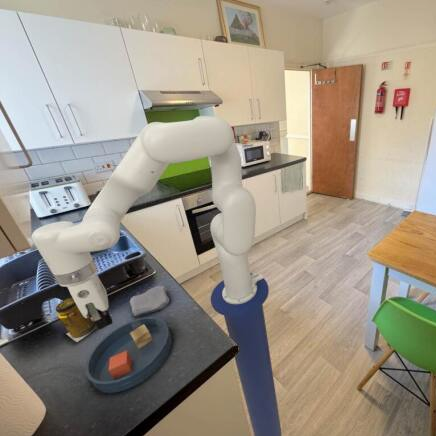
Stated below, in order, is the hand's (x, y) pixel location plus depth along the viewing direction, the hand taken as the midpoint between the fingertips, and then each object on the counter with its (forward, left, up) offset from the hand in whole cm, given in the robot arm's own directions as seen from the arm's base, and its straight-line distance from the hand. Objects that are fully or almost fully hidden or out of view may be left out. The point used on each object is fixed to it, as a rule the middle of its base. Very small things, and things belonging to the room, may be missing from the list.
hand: (105, 324), depth 65 cm
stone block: (-11, -14, -12) cm, 22 cm away
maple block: (-6, +1, -11) cm, 13 cm away
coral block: (0, +7, -11) cm, 13 cm away
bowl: (-3, +4, -12) cm, 13 cm away
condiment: (+8, -18, -12) cm, 24 cm away
